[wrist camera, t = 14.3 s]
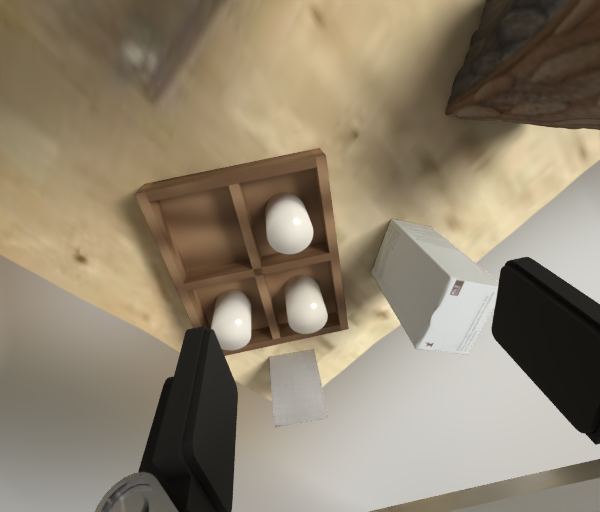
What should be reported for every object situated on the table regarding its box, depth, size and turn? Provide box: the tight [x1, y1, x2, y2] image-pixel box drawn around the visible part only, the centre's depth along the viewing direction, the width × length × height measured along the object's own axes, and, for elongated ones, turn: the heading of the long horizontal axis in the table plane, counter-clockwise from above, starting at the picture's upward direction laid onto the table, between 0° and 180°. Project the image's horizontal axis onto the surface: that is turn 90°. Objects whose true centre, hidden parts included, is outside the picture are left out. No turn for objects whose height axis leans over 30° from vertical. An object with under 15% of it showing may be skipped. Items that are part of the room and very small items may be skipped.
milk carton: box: [269, 349, 327, 427], centre depth 46 cm, size 4×7×10 cm, turn 96°
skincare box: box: [371, 219, 499, 355], centre depth 37 cm, size 8×6×15 cm
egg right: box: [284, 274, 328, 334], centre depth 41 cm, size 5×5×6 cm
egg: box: [211, 289, 252, 350], centre depth 40 cm, size 5×5×6 cm
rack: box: [135, 148, 348, 356], centre depth 40 cm, size 23×19×4 cm
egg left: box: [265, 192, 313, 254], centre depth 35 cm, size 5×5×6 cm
